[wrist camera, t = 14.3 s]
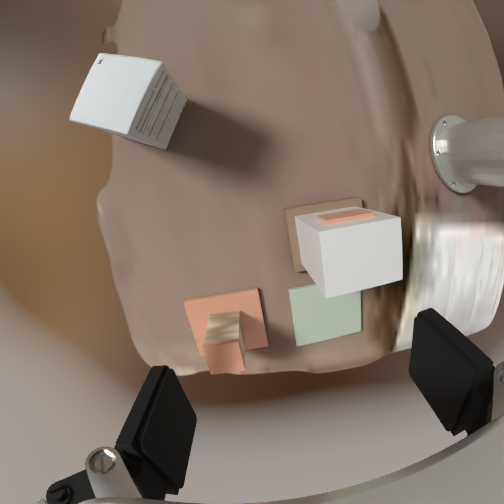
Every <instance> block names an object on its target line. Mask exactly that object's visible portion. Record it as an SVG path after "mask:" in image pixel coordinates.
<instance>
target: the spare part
mask: <svg viewBox="0 0 504 504" xmlns="http://www.w3.org/2000/svg"><path fill="white" fill-rule="evenodd" d="M202 347H203V351H204V354H205V357H206V360H207V364H208V367H209V370H210V373H211V374H220V373H229V372H237V371H245V335H244V330H243V326H242V321H241V316H240V311H239V310H238V311H231V312H224V313H217V314H210V317H209V321H208V325H207V329H206V333H205V338H204V342H203V346H202Z"/></svg>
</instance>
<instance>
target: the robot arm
mask: <svg viewBox="0 0 504 504" xmlns="http://www.w3.org/2000/svg"><path fill="white" fill-rule="evenodd" d="M431 155H432V160H433V164H434V166H435V169H436V172H437V173H438V175H439V177H440V179H441V180H442V182H443V183H444V184H445V185H446V186H447V187H448V188H449V189H451V190H452V191H455V192H458V193H467V192H470V191H472V190H473V189H474V188H475V187H476V185H477V184H479V185H489V186H498V187H504V116H499V117H492V118H486V119H480V120H474V121H468V122H466V121H465V120H464V119H462V118H460V117H459V116H455V115H448V116H444V117H442V118H440V119H439V120H438V121H437V122H436V124H435V125H434V127H433V130H432V134H431ZM409 374H410V377H411V378H412V380H413V381H414V383H415V384H416V386H417V387H418V388H419V390H420V391H421V393H422V394H423V396H424V397H425V399H426V400H427V402H428V403H429V405H430V406H431V408H432V409H433V411H434V412H435V414H436V415H437V417H438V418H439V420H440V422H441V423H442V425H443V426H444V428H445V429H446V430H447V431H451V433H452V434H453V436H455V435H457V434H458V433H460V432H462V431H463V430H466V432H467V437H465V438H464V439H462V440H460V441H458V442H457V443H455V444H453V445H451V446H449V447H448V448H446V449H444V450H442V451H440V452H438V453H436V454H434V455H432V456H430V457H428V458H426V459H424V460H422V461H419V462H417V463H415V464H413V465H410V466H408V467H406V468H403V469H401V470H398V471H396V472H393V473H391V474H388V475H385V476H382V477H379V478H377V479H374V480H371V481H368V482H365V483H361V484H358V485H355V486H351V487H347V488H343V489H340V490H336V491H332V492H327V493H322V494H317V495H313V496H307V497H301V498H296V499H289V500H280V501H272V502H261V503H245V504H504V362H501V363H500V364H498V365H497V366H496V368H495V367H494V366H493V361H492V360H491V359H490V358H489V357H487V356H486V355H485V354H484V353H483V352H482V351H481V350H480V349H479V348H478V347H477V346H476V345H474V344H473V343H472V342H471V341H470V340H469V339H468V338H467V337H466V336H464V335H463V334H462V333H461V332H460V331H459V330H458V329H456V328H455V327H454V326H453V325H452V324H451V323H449V322H448V321H447V320H446V319H445V318H444V317H442V316H441V315H440V314H439V313H438V312H436V311H435V310H434V309H432V308H429V309H426V310H424V311H421V312H419V313H418V315H417V317H415V319H414V329H413V340H412V349H411V357H410V364H409ZM196 422H197V419H196V414H195V412H194V410H193V408H192V406H191V405H190V403H189V401H188V399H187V397H186V395H185V393H184V391H183V389H182V387H181V385H180V383H179V380H178V378H177V376H176V374H175V372H174V370H173V369H169V367H168V366H166V365H164V366H153V367H152V368H151V370H150V372H149V374H148V376H147V378H146V380H145V382H144V384H143V386H142V388H141V390H140V392H139V394H138V396H137V398H136V401H135V402H134V405H133V407H132V409H131V411H130V413H129V415H128V417H127V419H126V422H125V424H124V426H123V428H122V430H121V432H120V435H119V437H118V439H117V441H116V445H115V448H111V447H100V448H97V449H95V450H94V451H92V452H91V453H90V454H89V455H88V457H87V458H86V462H85V467H86V469H85V470H83V471H81V472H79V473H77V474H74V475H72V476H70V477H67V478H65V479H63V480H60V481H58V482H55V483H54V484H52V485H51V486H50V487H49V489H48V490H47V494H46V499H47V500H46V501H45V500H44V499H41V500H40V501H39V502H37V503H36V504H199V503H182V502H170V501H165V495H166V494H175V495H178V492H179V488H182V487H183V485H184V481H185V476H186V470H187V466H188V460H189V456H190V451H191V446H192V441H193V437H194V432H195V427H196Z"/></svg>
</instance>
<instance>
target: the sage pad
mask: <svg viewBox="0 0 504 504" xmlns="http://www.w3.org/2000/svg"><path fill="white" fill-rule="evenodd" d="M288 290H289V297H290V303H291V310H292V317H293V325H294V332H295V339H296V345H297V346H301V345H306V344H310V343H315V342H319V341H323V340H328V339H332V338H336V337H340V336H344V335H347V334H351V333H355V332H359V331H361V294H360V291H356V292H352V293H348V294H343V295H339V296H335V297H330V298H325V296H324V295H323V293H322V292H321V290H320V289H319V288H318V286H317V285H316V283H315V284H310V285H305V286H300V287H295V288H290V289H288Z"/></svg>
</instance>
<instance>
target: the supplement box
mask: <svg viewBox="0 0 504 504" xmlns="http://www.w3.org/2000/svg"><path fill="white" fill-rule="evenodd" d="M186 102H187V99H186V97H185V96H184V94H183V93H182V91H181V90H180V88H179V87H178V85H177V84H176V82H175V81H174V79H173V78H172V76H171V75H170V73H169V72H168V70H167V69H166V67H165V66H164V64H163V63H162V62H161V61H156V60H151V59H144V58H138V57H131V56H123V55H115V54H105V53H100V54H99V55H98V57H97V59H96V61H95V62H94V64H93V66H92V68H91V70H90V72H89V74H88V76H87V78H86V80H85V82H84V85H83V87H82V89H81V91H80V93H79V96H78V98H77V100H76V103H75V105H74V108H73V110H72V113H71V116H70V120H71V121H74V122H77V123H80V124H83V125H87V126H90V127H93V128H96V129H99V130H102V131H106V132H109V133H112V134H115V135H118V136H121V137H124V138H127V139H131V140H134V141H138V142H141V143H145V144H148V145H151V146H155V147H158V148H161V149H164V150H166V149H167V146H168V143H169V141H170V138H171V136H172V134H173V131H174V129H175V126H176V124H177V122H178V119H179V117H180V115H181V113H182V110H183V108H184V106H185V104H186Z"/></svg>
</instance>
